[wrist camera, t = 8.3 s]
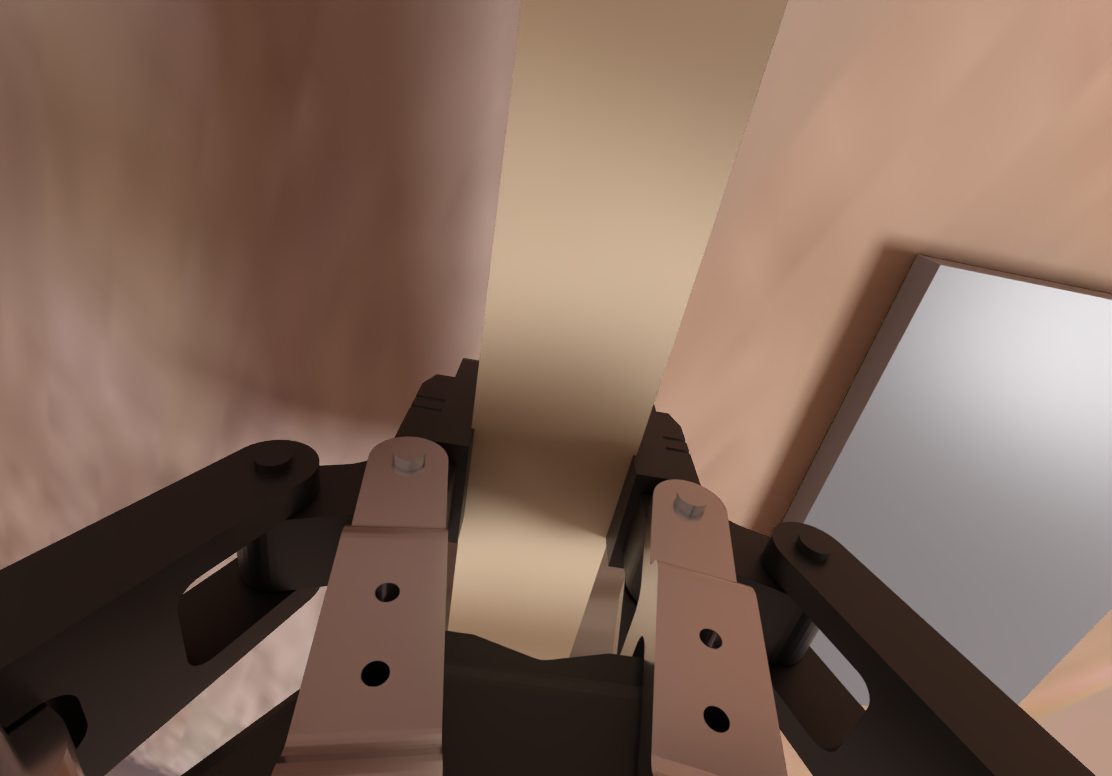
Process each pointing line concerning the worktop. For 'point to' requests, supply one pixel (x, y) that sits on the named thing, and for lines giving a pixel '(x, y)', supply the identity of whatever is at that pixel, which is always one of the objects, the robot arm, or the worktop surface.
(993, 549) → the board
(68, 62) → the worktop surface
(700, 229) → the beige rectangular block
